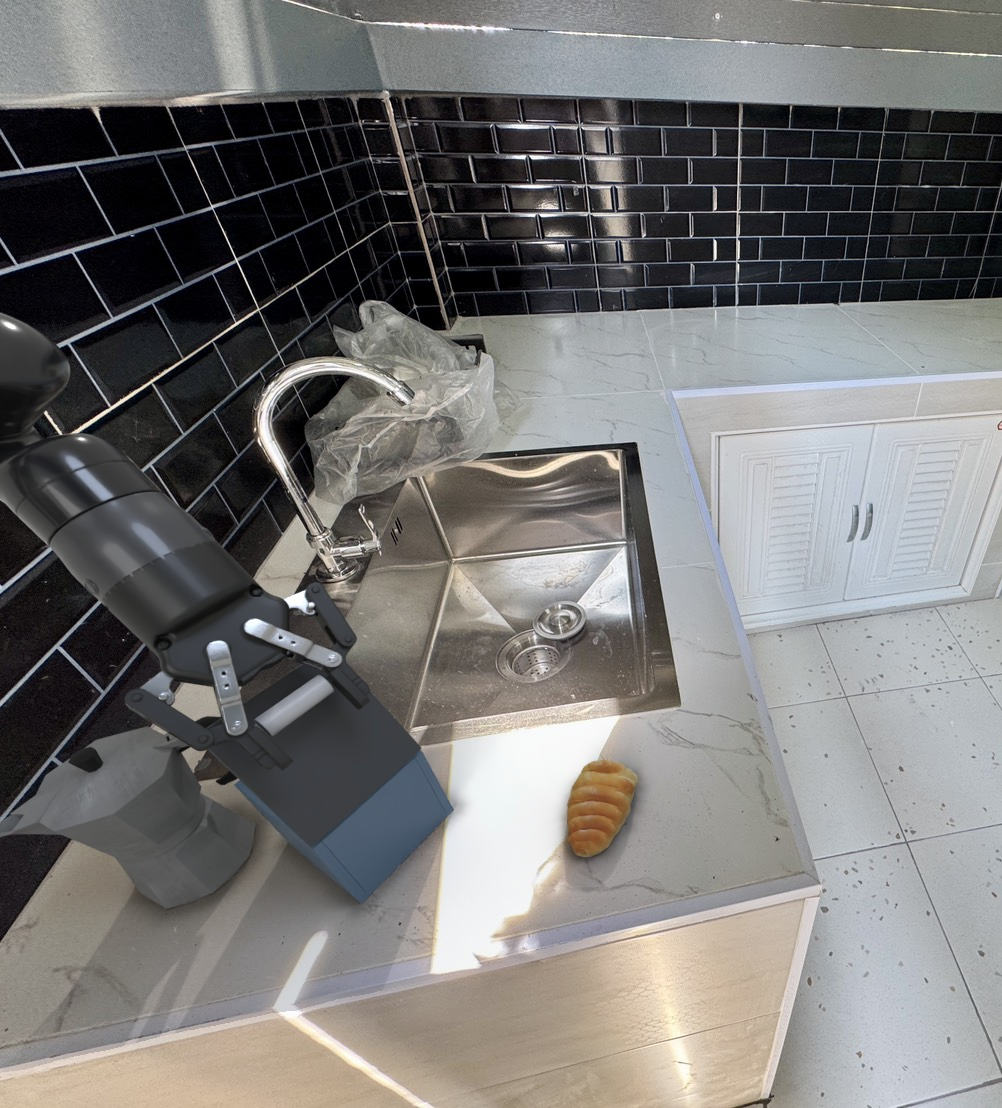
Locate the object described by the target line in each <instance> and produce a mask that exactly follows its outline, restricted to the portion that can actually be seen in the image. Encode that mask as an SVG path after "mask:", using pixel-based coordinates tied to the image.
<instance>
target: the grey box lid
mask: <svg viewBox="0 0 1002 1108" xmlns="http://www.w3.org/2000/svg"><path fill="white" fill-rule="evenodd" d="M325 648H327V649H329V650H331V648H332V647H330V646H329V645H328V646H326V647H325ZM327 676H328V674H327V673H326V672H324V671H321V670H318V669H315V668H313V667H310V666H307V665H305V664H300V665H298V666H296V667H295V668H294V669H292V670H290V671H289V672H287V673H286V674H285V675H283V676H281V677H280V678H278V679H277V680H275V681H274V682H273V683H271V684H269V685H268V686H267V687H265V688H264V689H262V690H261V691H259V692H258V693H256V694H255V695H253V696H252V697H250V698H249V699H247V700H246V701H244V702H242V704H243V707H244V711H245V715H246V719H247V722H248V723H249V724H250V725H251V726H252V727H253V728H254V727H255V726H258V727H259V728H260V729H261V730H262V731H263V732H264V733H265V734H266V735H267V736H268V737H269V738H270V739H271V740H272V741H273V742H274V743H275V744H276V745H278V746H279V747H280V748H281V749H282V750H283V751H284V752H285V753H286V754H287V755H288V756H289V757H290V758H291V759H292V760H293V763H292V764H290V765H289V766H288V767H287V768H285V769H284V770H281V769H280V768H279V767H278V766H274V767H273V768H272V769H271V770H268V769H265V768H262V767H261V766H260V765H259V764H258V763H257V762H256V761H255V760H254V759H253V758H252V757H251V756H250V755H249V754H247V753H246V752H245V751H244V750H243V749H242V748H241V747H240V746H239V745H238V744H236V743H234V742H225V743H222V744H219V745H216V746H214V747H211V748H209V749H208V750H207V751H208V752H210V753H211V754H212V756H214V757H215V758H216V759H217V760H218V761H219V762H220V764H222V765H223V766H224V767H225V768H226V769H227V770H228V771H229V770H230V771H231V772H232V773H233V774H234V775H235V776H236V777H237V778H238V779H237V780H238V781H239V780H240V781H241V782H242V783H243V784H244V785H245V786H246V787H247V788H248V789H250V790H251V791H252V792H253V793H254V794H255V795H256V796H257V797H258V798H259V799H260V800H261V801H262V802H263V803H264V804H265V805H266V806H267V807H268V808H269V809H270V810H271V811H273V812H274V813H275V814H276V815H277V816H278V817H279V818H280V819H281V820H282V821H283V822H284V823H285V824H286V825H287V826H288V827H289V828H290V829H291V830H292V831H293V832H294V833H296V834H297V835H298V836H299V837H300V838H301V839H302V840H303V841H304V842H305V843H306V844H307V845H308V846H309V847H313V846H314V845H315V844H316V843H317V842H318V841H319V840H320V839H322V838H323V837H324V836H325V835H326V834H327V833H328V832H329V831H330V830H332V829H333V828H334V827H335V826H336V825H337V824H338V823H339V822H341V821H342V820H343V819H344V818H345V817H346V816H347V815H348V814H349V813H351V812H352V811H353V810H354V809H355V808H356V807H357V806H358V805H359V804H361V803H362V802H363V801H364V800H365V799H366V798H367V797H368V796H370V795H371V794H372V793H373V792H374V791H375V790H376V789H377V788H378V787H380V786H381V785H382V784H383V783H384V782H385V781H386V780H387V779H389V778H390V777H391V776H392V775H393V774H394V773H395V772H396V771H397V770H399V769H400V768H401V767H402V766H403V765H404V764H405V763H406V762H407V761H409V760H410V759H411V758H412V757H413V756H414V755H415V754H416V753H418V752H419V751H420V750H421V751H422V748H423V747H422V746H421V745H420V744H419V743H418V742H417V741H416V739H415V738H414V737H413V736H411V734H410V733H409V732H408V731H407V730H406V729H405V727H403V725H401V723H400V722H399V720H397V719H396V718H395V717H394V716H393V715H392V714H391V713H390V712H389V710H388V709H387V708H386V707H385V705H383V704H382V702H381V701H380V700H378V698H377V697H376V696H375V694H373V693H372V692H370V693H369V694H367V695H366V696H367V697H368V698H369V699H370V702H369V703H368V704H367V705H365V706H364V707H363V708H361V709H360V710H358V709H357V708H356V707H355V706H354V705H353V704H352V703H351V702H350V701H349V700H348V699H347V698H346V697H345V696H344V695H343V694H342V693H341V692H340V691H339V690H338V689H337V688H336V687H335V686H334V685H333V684H332V683H331V682H330V681H329V680H328V679H327V678H326V677H327ZM220 724H223V723H222V719H219V720H218V721H216V722H215V723H213V724H212V725H210V726H209V727H207V728H206V729H209V728H211V727H214V726H217V725H220Z"/></svg>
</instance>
